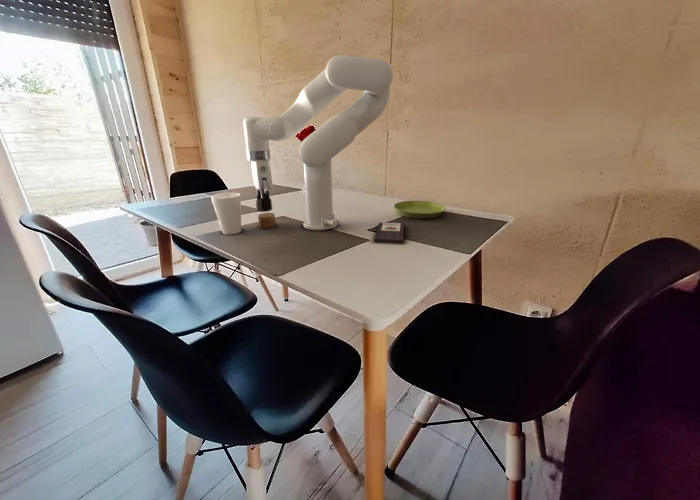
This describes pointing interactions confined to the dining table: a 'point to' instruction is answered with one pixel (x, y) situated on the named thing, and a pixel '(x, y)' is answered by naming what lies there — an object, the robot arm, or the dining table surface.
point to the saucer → (419, 209)
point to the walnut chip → (258, 206)
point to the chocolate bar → (390, 233)
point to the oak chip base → (267, 225)
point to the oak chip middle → (266, 217)
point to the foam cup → (228, 211)
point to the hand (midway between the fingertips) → (264, 207)
